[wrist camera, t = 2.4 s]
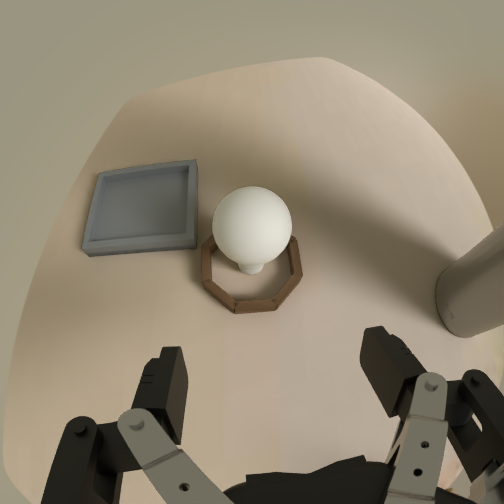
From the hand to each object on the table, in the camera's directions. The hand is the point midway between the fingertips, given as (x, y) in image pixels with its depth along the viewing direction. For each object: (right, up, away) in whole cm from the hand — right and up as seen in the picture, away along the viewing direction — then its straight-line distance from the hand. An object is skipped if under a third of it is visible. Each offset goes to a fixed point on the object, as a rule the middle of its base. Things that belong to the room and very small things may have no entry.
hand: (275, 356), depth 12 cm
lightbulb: (-1, +3, +18) cm, 18 cm away
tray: (-14, +9, +21) cm, 27 cm away
